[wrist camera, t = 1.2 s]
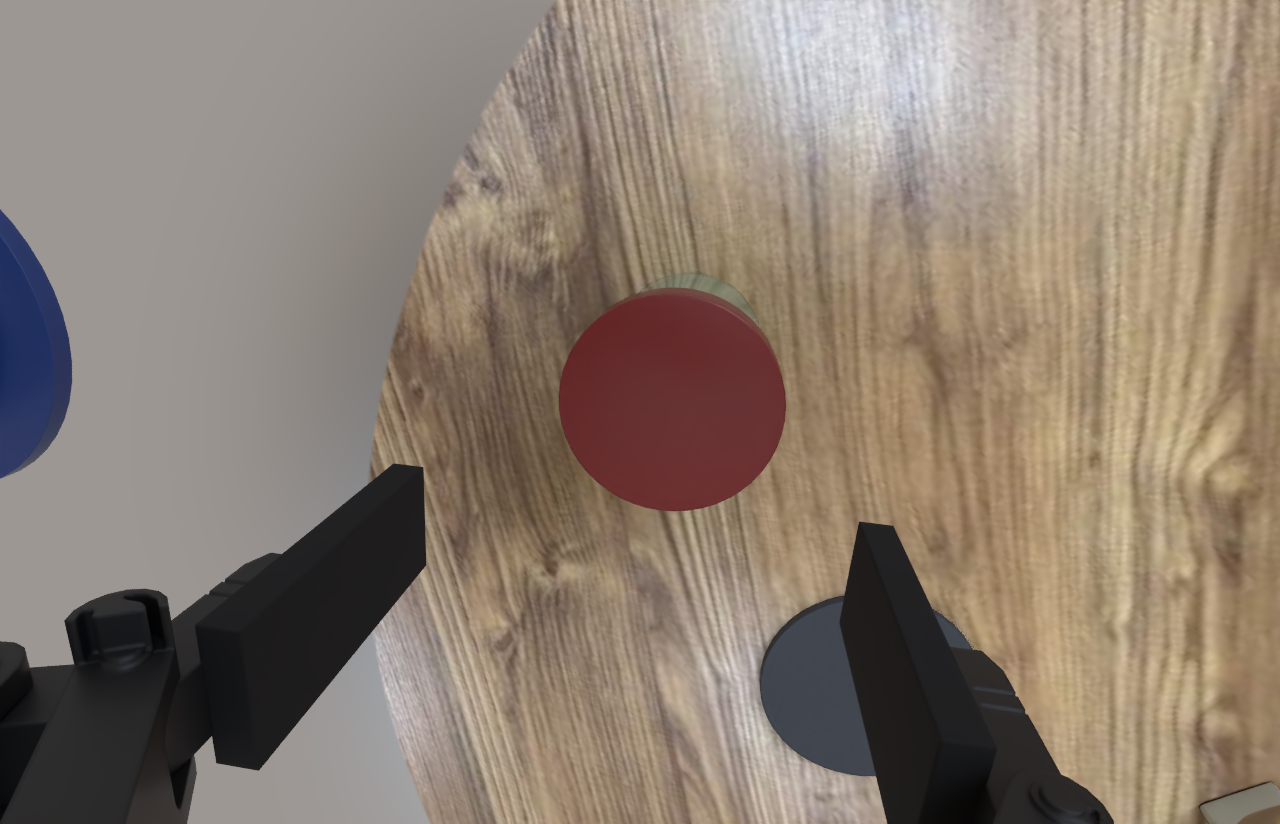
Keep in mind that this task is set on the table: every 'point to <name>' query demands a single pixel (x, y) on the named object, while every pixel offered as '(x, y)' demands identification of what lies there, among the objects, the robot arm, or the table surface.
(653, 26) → the table surface
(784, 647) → the coaster
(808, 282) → the table surface
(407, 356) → the table surface
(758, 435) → the lid
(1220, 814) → the cosmetic box
